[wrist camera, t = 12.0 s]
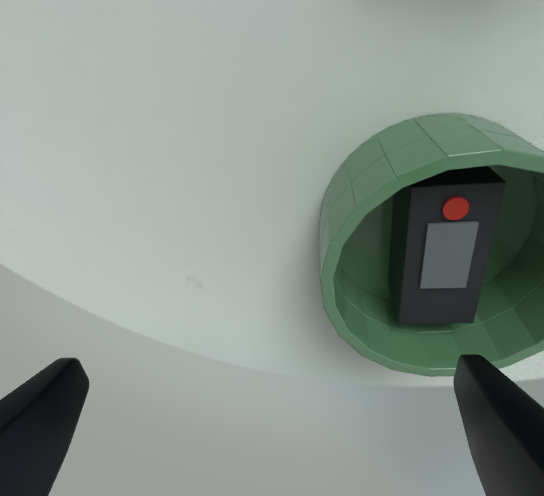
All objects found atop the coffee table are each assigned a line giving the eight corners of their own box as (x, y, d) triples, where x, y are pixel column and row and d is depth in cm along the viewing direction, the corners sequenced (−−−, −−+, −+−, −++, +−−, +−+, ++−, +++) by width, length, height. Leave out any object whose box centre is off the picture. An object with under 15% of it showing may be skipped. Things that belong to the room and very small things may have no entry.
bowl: (480, 316, 21) (522, 394, 17) (301, 283, 21) (298, 352, 17) (591, 137, 15) (694, 185, 11) (350, 92, 15) (363, 122, 11)
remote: (452, 282, 19) (475, 325, 16) (387, 283, 20) (398, 326, 17) (476, 154, 16) (508, 183, 13) (396, 159, 16) (411, 188, 13)
